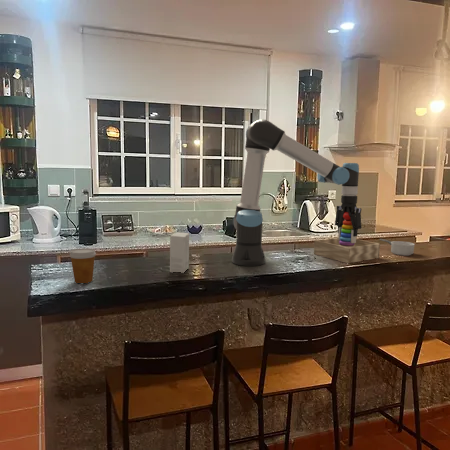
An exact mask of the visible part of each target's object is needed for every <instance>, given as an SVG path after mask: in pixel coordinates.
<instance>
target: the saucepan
mask: <svg viewBox="0 0 450 450" xmlns="http://www.w3.org/2000/svg"><path fill="white" fill-rule="evenodd" d="M379 241H382V242H386V243H387V244H389V245H390V247H391V249H390V252H391V253H393V254H394V255H397V256H405V257H406V256H412V255H413V254H414V253H415V245H416V244H415V243H413V242H410V241H399V240H397V241H396V240H395V241H390V240H387V239H385V238H379Z"/></svg>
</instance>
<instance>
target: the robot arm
mask: <svg viewBox="0 0 450 450" xmlns="http://www.w3.org/2000/svg"><path fill="white" fill-rule="evenodd" d="M245 138H246V139H245V145H244V150H246V153H247V155H246V161H245V166H244V167H245V169H244V175H243V182H242V187H241V194H240V195H241V196H240V200H239V203H238V204H236V207H235V214H234V216H233V218H232V223H233V226H234V229H235V231H236V232H235V234H236V236H235V237H236V238H235V240H236V241H235V247H234V250H233V254H232V257H231V262H232V263H233V264H234V265H238V266H243V267H244V266H245V267H246V266H247V267H254V266H255V267H256V266H261V265H264V264H265V263H266V257H265V253H264V249H263V244H262V240H263V239H262V238H263V221H264V218H263V214H262V212H261V207H260V206H259V200H260V193H261V187H262V181H263V174H264V168H265V161H266V155H267V154H269V152H270V150H272V151H278V152H280V153H282V154H283V155H285V156H287V157H288V158H290V159H292V160H294V161H295V162H297V163H299V164H301V165H302V166H304V167H306V168H308V169H310V170H311V171H313V172H314V173H317V174H316V177H317V181H318V182H319V183H324V184H325V183H327V184H328V183H329V184H335V185H338V186H339V185H341V197H340V198H341V199H340V202H341V205H336V214H335V219H334V225H335V226H337V234H338V235H337V236H338V237H337V238H338V240H339V241H340V237H341V233H342V231H341V230H342V229H343V228H342V225H344V224H343V221H344V220H345V219H344V217H343V215H344V213H345V212H348V213H349V216H350V219H351V223H352V227H353V229H352V230H351V243H356V239H357V236H358V231H359V230H361V229H362V208H361V207H357V203H358V196H357V195H358V194H359V193H358V192H359V191H358V190H359V175H360V165H359V163H358V162H357V163H356V162H343V163H342V166H339V165H337V164H336V163H334V162H332V161H331V160H330V159H328V158H326V157H324V156H322V155H321V154H319V153H318V152H316V151H314V150H312V149H311V148H309V147H307V146H305V145H304V144H302V143H301V142H299V141H297V140H295V139H294V138H292V137H290V136H289V135H287V134H286V131H285V130H283V129H281V128H280V127H278V126H277V125H275V123H273V122H271V121H269V120H267V119H264V118H263V119H257V120H256V121H253V122H252V123H250V124H249V126H248V127H247V129H246V132H245Z"/></svg>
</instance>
